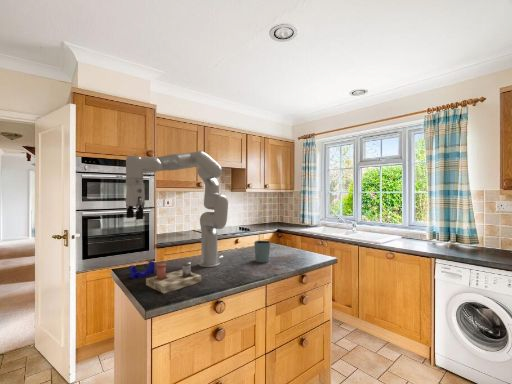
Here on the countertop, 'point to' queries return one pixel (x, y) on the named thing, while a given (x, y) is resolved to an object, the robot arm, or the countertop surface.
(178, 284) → the board
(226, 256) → the countertop surface
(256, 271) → the countertop surface
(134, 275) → the cable clip
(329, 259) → the countertop surface
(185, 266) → the grey plug
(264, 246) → the drinking glass
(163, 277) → the red plug
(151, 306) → the countertop surface
